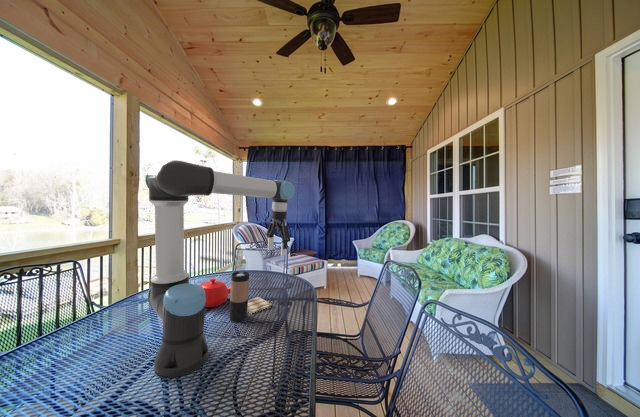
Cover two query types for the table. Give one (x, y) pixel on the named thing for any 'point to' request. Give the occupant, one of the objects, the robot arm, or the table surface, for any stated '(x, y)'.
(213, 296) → the teapot
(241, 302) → the travel mug
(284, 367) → the table surface
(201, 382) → the table surface
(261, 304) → the trivet
